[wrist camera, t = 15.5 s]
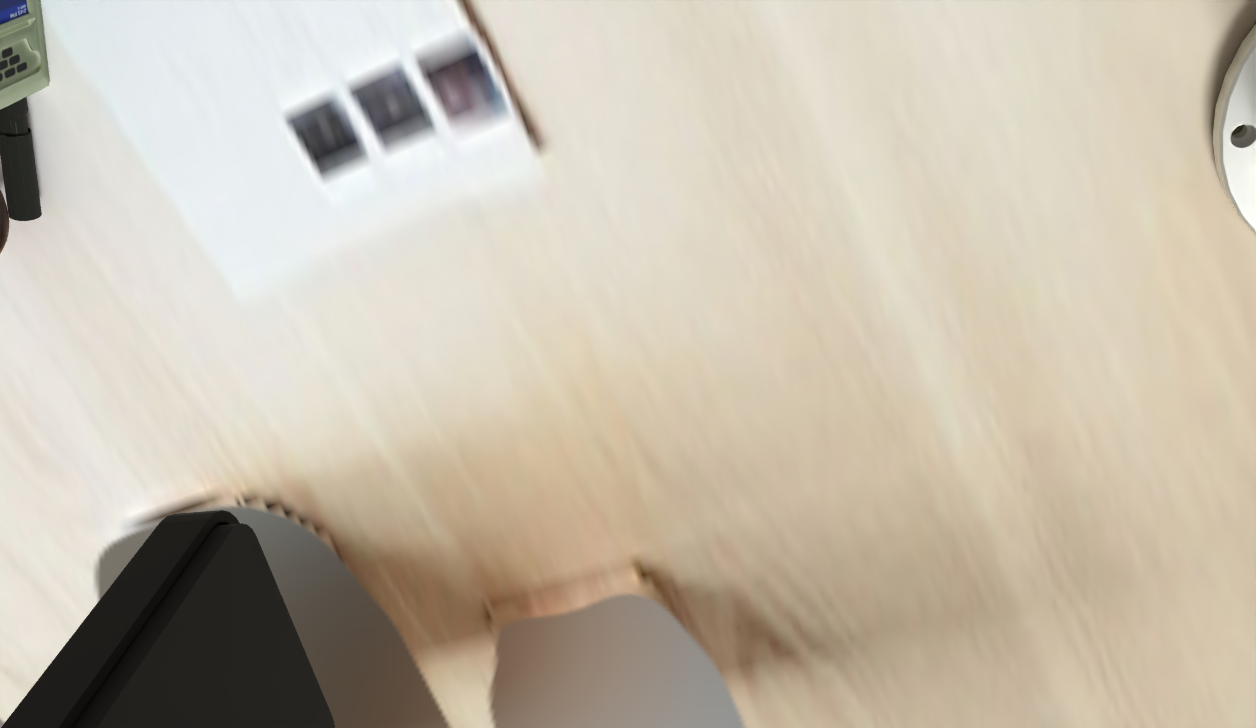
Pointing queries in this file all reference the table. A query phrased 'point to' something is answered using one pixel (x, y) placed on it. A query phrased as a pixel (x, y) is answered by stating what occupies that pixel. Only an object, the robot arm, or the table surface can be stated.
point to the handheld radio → (20, 101)
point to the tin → (3, 222)
